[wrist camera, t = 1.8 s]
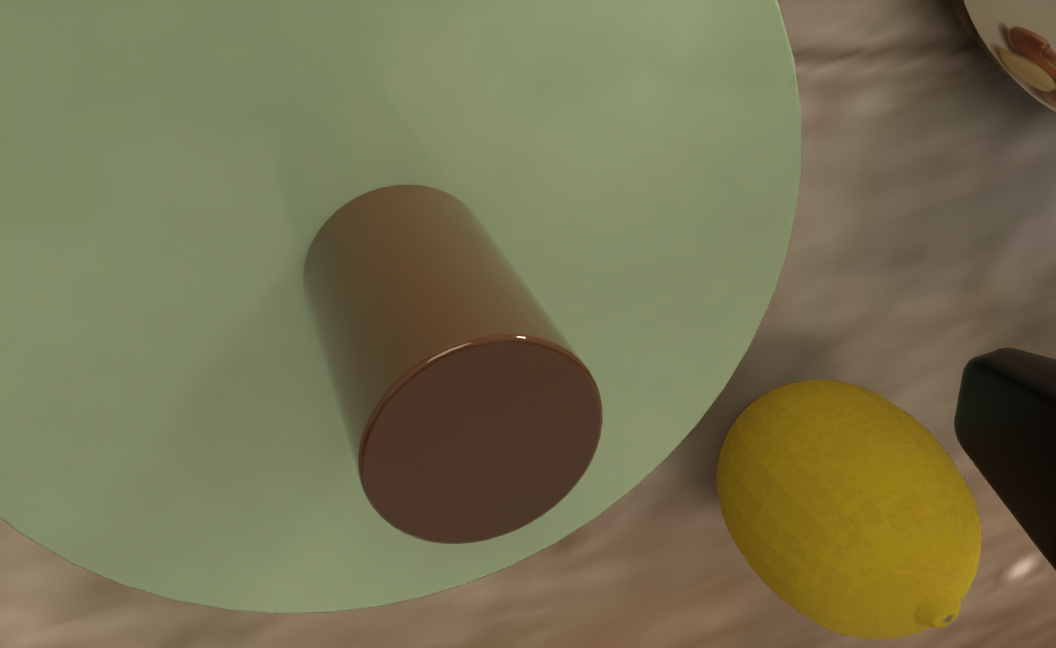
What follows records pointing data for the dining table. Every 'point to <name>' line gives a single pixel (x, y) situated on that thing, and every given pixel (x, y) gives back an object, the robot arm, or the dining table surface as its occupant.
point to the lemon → (849, 510)
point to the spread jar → (1017, 40)
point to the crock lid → (371, 277)
